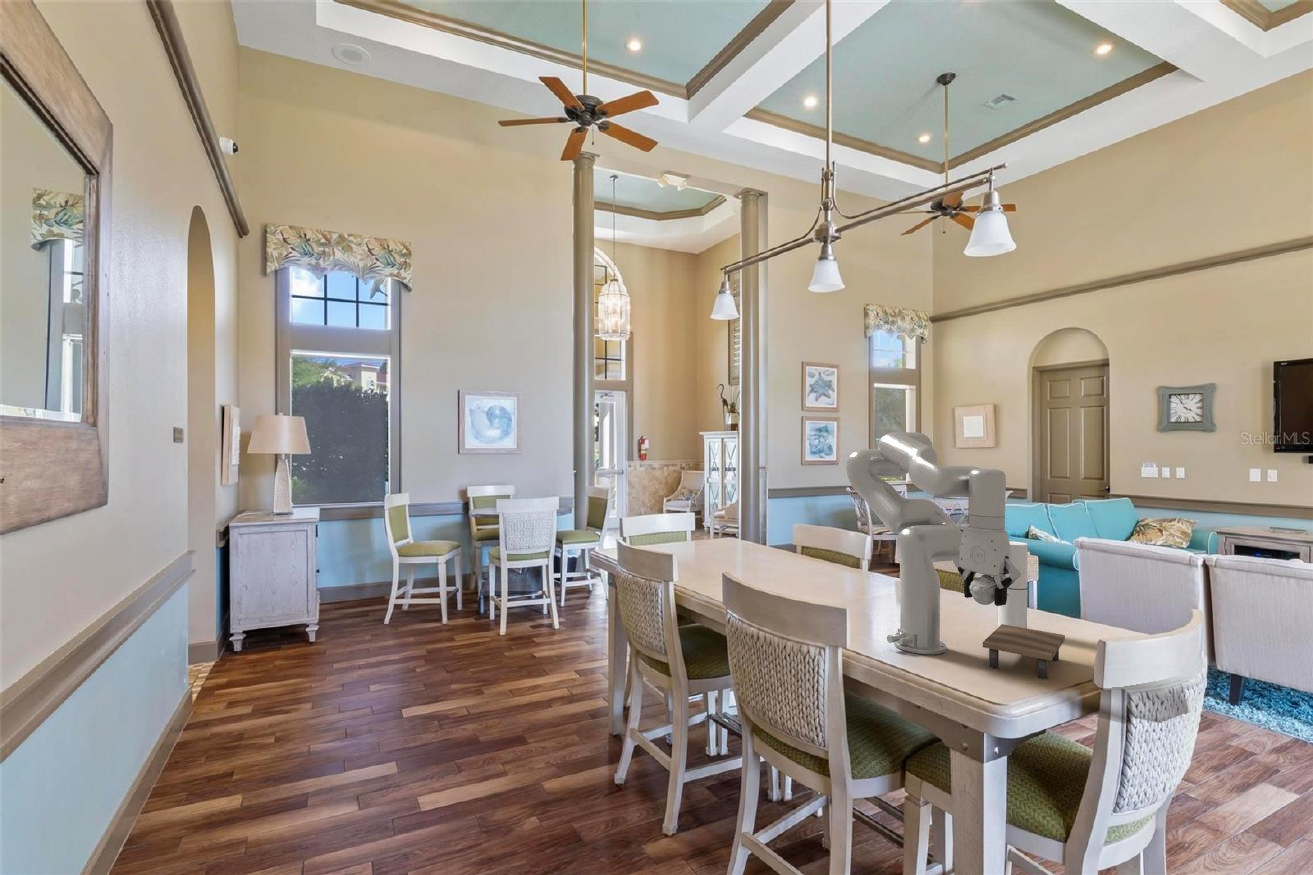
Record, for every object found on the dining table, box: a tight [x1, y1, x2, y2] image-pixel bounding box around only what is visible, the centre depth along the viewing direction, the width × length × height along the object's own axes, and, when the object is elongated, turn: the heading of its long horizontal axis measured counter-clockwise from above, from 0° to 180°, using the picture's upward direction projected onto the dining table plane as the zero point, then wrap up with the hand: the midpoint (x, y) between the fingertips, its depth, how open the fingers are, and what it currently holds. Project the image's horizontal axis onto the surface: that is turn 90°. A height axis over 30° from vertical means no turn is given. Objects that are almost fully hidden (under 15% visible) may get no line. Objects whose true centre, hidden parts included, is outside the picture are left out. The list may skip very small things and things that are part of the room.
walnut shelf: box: [982, 624, 1066, 680], centre depth 154 cm, size 20×14×6 cm
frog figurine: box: [969, 574, 997, 606], centre depth 145 cm, size 6×7×7 cm
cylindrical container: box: [997, 540, 1029, 629], centre depth 180 cm, size 7×7×25 cm
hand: (984, 600), depth 145 cm, fingers closed on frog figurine, 6 cm apart
